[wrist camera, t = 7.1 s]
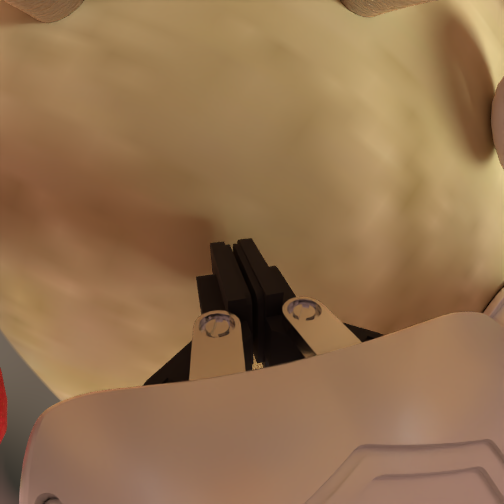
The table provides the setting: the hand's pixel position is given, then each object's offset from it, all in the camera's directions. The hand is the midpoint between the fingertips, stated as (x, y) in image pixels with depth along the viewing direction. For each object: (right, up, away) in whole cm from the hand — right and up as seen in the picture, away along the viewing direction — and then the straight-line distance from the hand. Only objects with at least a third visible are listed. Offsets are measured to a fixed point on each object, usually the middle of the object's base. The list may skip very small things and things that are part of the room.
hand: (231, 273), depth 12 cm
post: (-7, +11, -6) cm, 15 cm away
